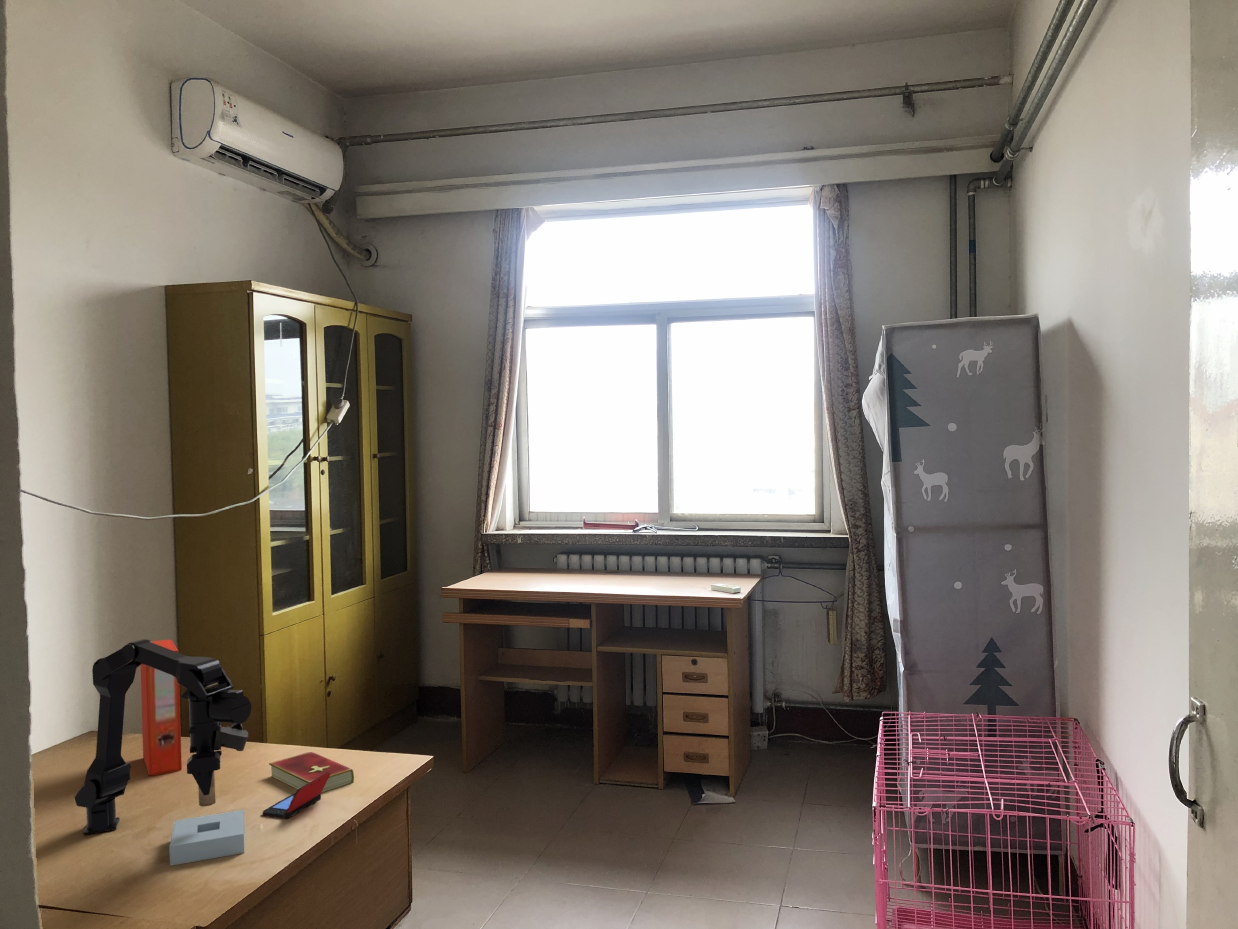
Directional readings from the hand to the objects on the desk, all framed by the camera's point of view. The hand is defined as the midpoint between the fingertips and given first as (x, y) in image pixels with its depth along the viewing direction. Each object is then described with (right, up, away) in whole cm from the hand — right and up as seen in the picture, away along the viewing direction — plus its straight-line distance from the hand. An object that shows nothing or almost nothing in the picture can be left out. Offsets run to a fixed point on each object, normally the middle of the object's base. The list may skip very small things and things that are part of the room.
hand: (206, 792), depth 196 cm
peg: (0, -3, 0) cm, 2 cm away
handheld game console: (+12, -11, +20) cm, 26 cm away
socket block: (0, -12, 0) cm, 12 cm away
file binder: (-36, -11, +53) cm, 65 cm away
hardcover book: (+10, -11, +38) cm, 41 cm away
